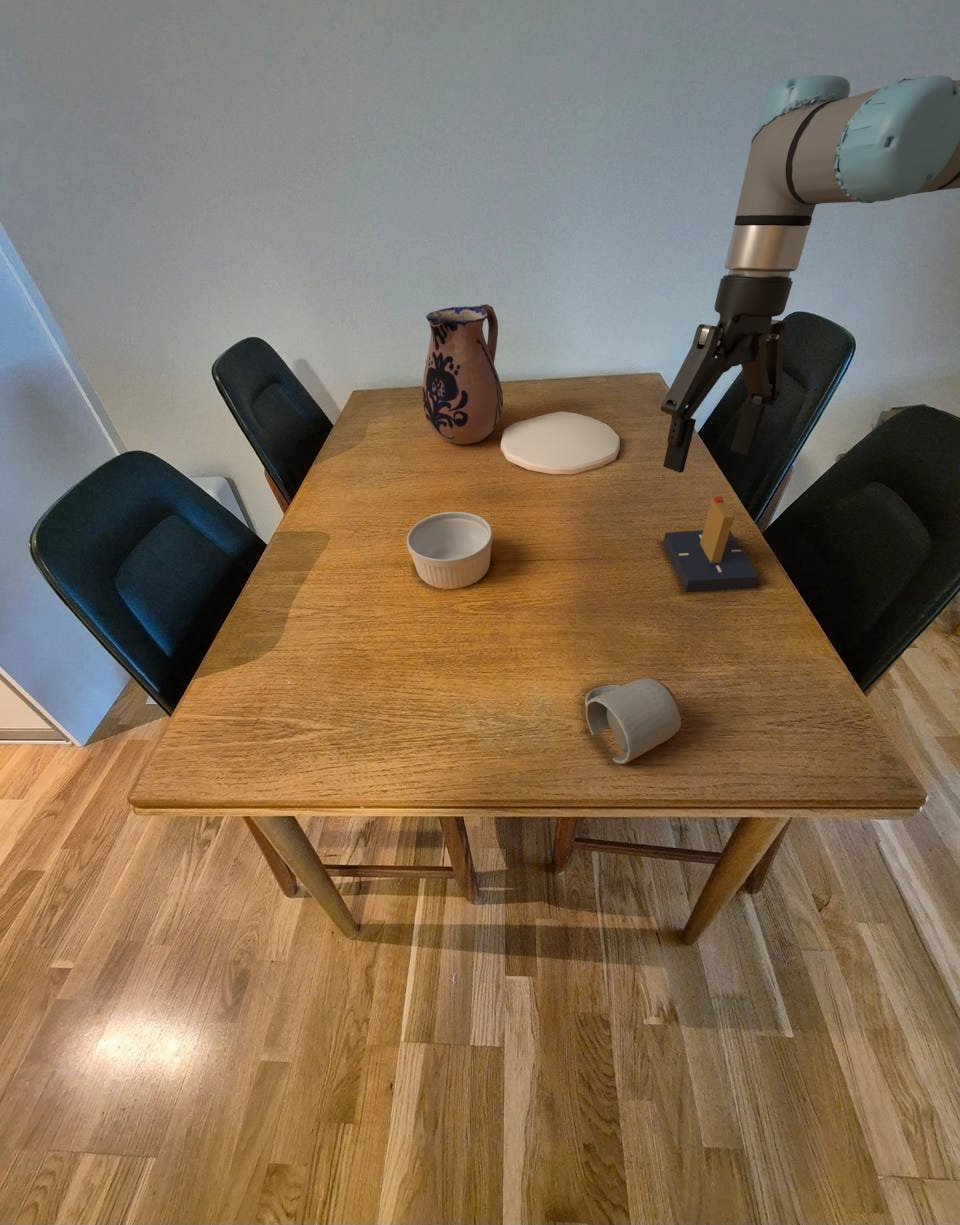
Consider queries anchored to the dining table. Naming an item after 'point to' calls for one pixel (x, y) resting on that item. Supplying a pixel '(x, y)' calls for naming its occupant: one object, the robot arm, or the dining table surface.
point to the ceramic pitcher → (462, 374)
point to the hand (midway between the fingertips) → (708, 460)
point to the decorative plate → (560, 443)
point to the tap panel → (708, 564)
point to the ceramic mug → (634, 715)
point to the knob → (716, 529)
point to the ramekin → (451, 549)
